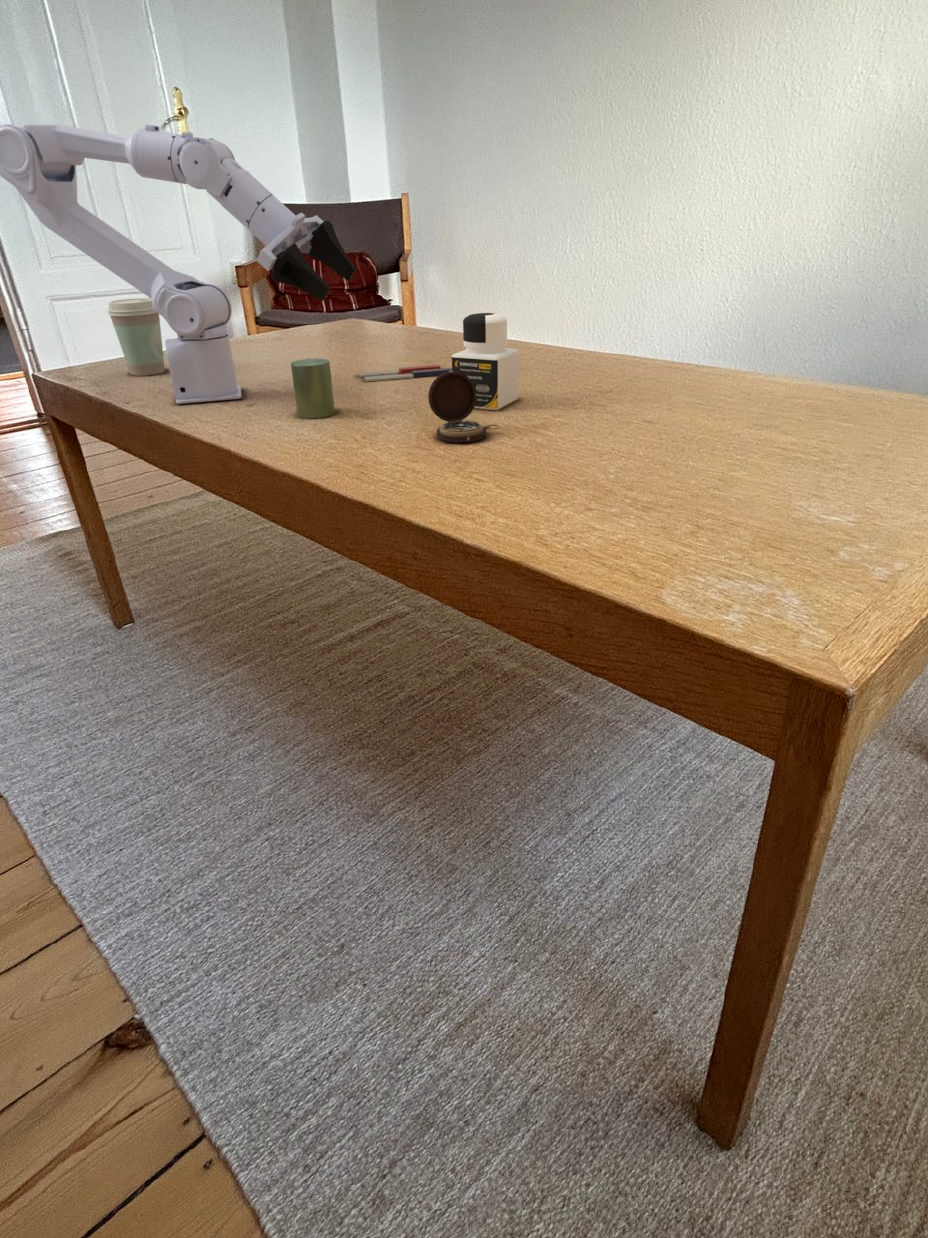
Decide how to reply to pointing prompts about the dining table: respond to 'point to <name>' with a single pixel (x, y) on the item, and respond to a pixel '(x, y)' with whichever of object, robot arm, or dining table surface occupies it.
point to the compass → (455, 407)
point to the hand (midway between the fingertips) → (340, 284)
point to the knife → (410, 374)
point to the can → (313, 388)
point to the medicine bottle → (488, 360)
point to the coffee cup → (138, 335)
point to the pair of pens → (401, 370)
